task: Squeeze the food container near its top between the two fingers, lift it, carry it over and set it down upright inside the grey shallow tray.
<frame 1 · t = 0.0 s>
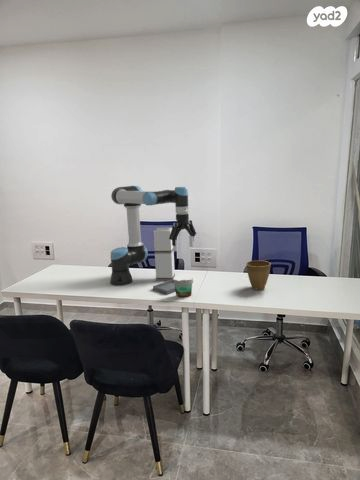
hand: (183, 248, 205), 28 cm above the table, tool pointing down, fingers open, 13 cm apart
plant pot: (258, 288, 215), on the table
display case: (165, 278, 241), on the table
grey shallow tray: (170, 288, 220), on the table
food container: (184, 296, 205), on the table
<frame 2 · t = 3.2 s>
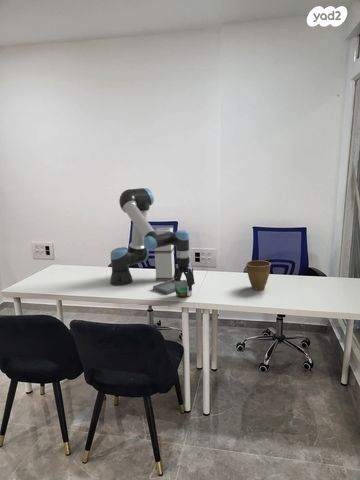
hand: (184, 293, 205), 2 cm above the table, tool pointing down, fingers closed on food container, 8 cm apart
food container: (184, 296, 205), on the table, touching gripper
everything else where it was.
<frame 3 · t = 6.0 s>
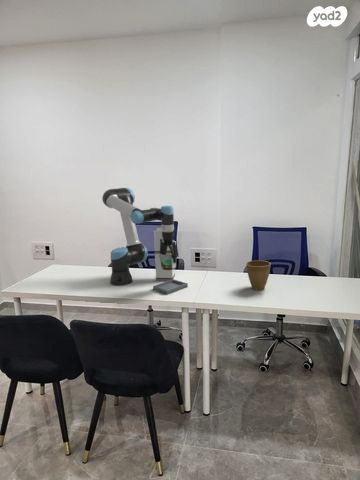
hand: (169, 266, 217), 15 cm above the table, tool pointing down, fingers closed on food container, 8 cm apart
food container: (169, 269, 217), point 13 cm above the table, touching gripper
everything else where it was.
when the fingers open (3 cm above the table, at t = 9.1 s): food container stays where it is, resting on grey shallow tray.
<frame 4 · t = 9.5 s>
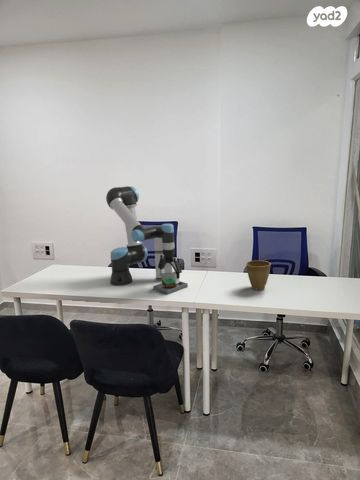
hand: (170, 281, 219), 5 cm above the table, tool pointing down, fingers open, 13 cm apart
food container: (170, 287, 219), point 1 cm above the table, touching grey shallow tray
everything else where it was.
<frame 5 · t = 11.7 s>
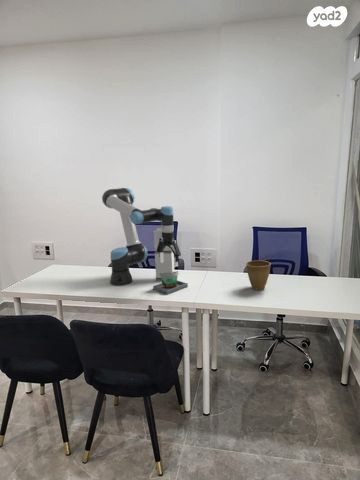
hand: (168, 264, 217), 16 cm above the table, tool pointing down, fingers open, 13 cm apart
nothing on the table moved.
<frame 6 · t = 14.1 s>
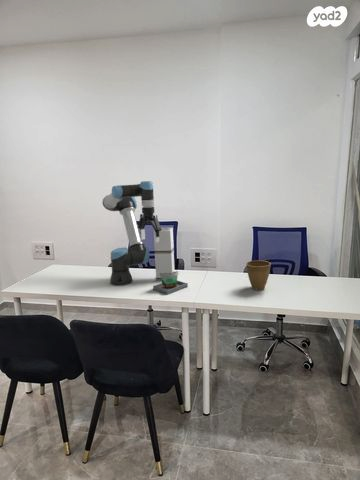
hand: (150, 240, 214), 32 cm above the table, tool pointing down, fingers open, 13 cm apart
nothing on the table moved.
at the end: food container inside the target area on the grey shallow tray (0.6 cm from its centre), point 0.6 cm above the grey shallow tray's base; food container tilted 0°; the gripper is holding nothing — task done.
